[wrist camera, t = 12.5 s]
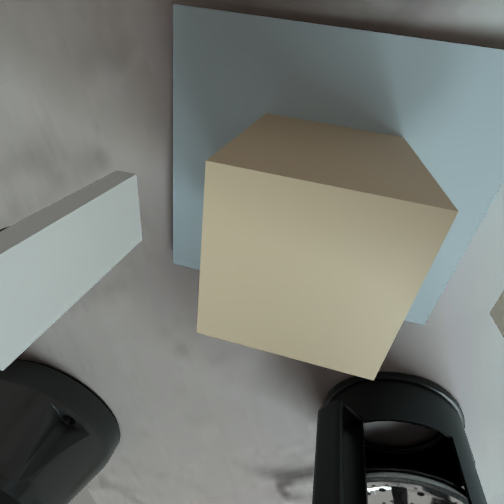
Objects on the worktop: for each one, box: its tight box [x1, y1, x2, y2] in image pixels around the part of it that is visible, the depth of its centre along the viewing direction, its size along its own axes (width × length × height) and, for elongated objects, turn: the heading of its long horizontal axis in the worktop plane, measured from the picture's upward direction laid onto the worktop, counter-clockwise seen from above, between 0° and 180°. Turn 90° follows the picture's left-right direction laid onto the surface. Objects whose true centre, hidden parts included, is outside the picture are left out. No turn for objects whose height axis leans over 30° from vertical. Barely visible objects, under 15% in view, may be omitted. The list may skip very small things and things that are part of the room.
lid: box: [173, 4, 504, 381], centre depth 13 cm, size 15×13×9 cm
